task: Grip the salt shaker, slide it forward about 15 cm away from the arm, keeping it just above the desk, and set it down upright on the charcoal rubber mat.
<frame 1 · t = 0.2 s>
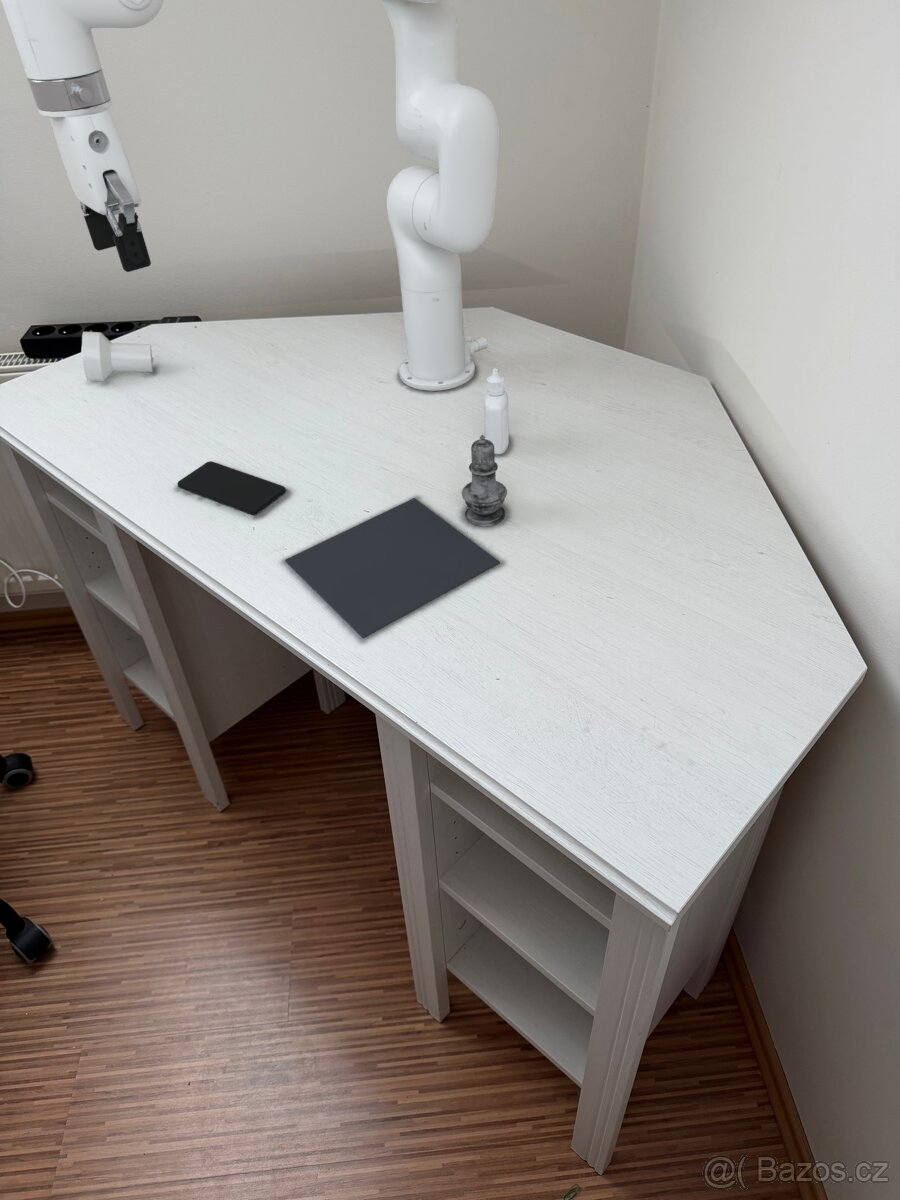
hand: (122, 257, 100), 31 cm above the table, tool pointing down, fingers open, 9 cm apart
smartphone: (232, 490, 117), on the table
spotlight: (120, 376, 146), on the table
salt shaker: (485, 515, 110), on the table
mat: (391, 562, 103), on the table
eye dropper bottle: (496, 446, 122), on the table
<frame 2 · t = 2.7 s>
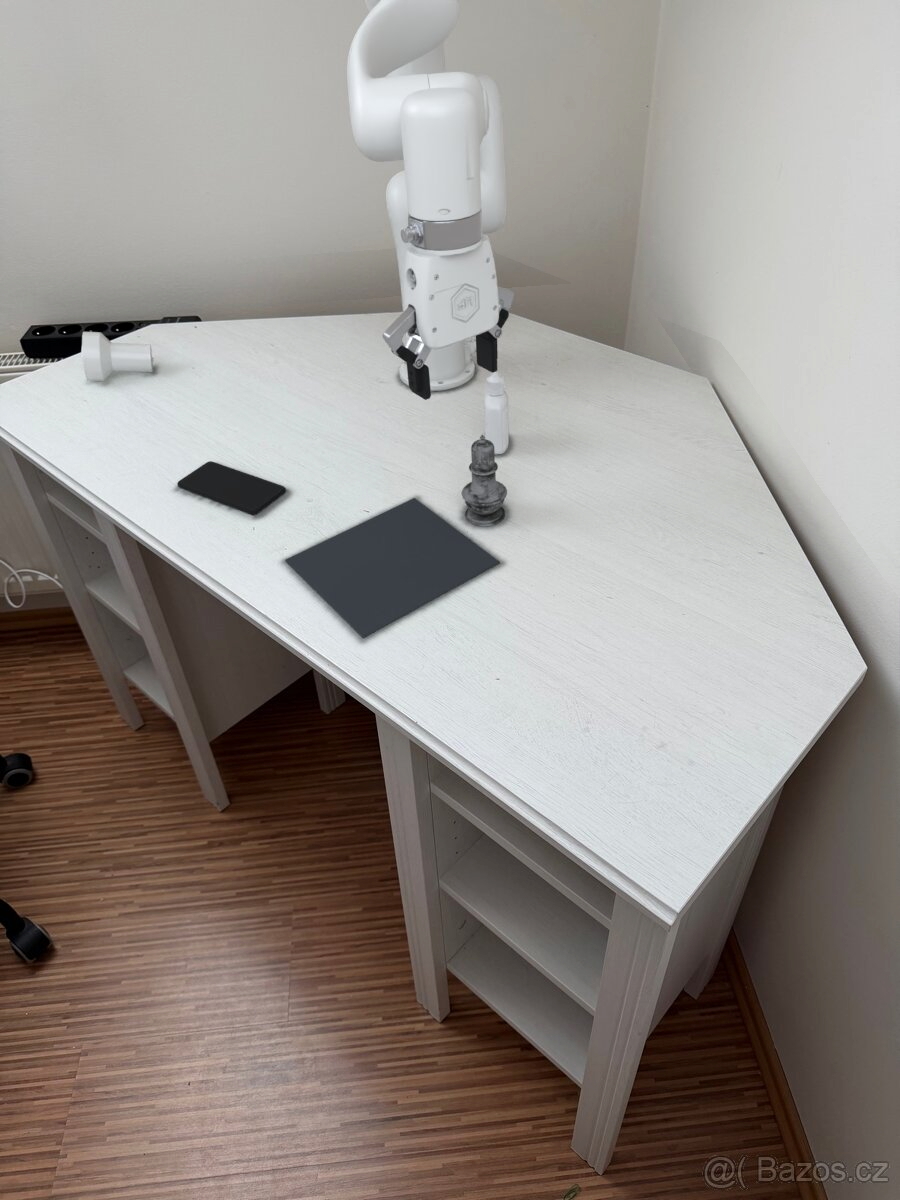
hand: (454, 381, 97), 19 cm above the table, tool pointing down, fingers open, 9 cm apart
nothing on the table moved.
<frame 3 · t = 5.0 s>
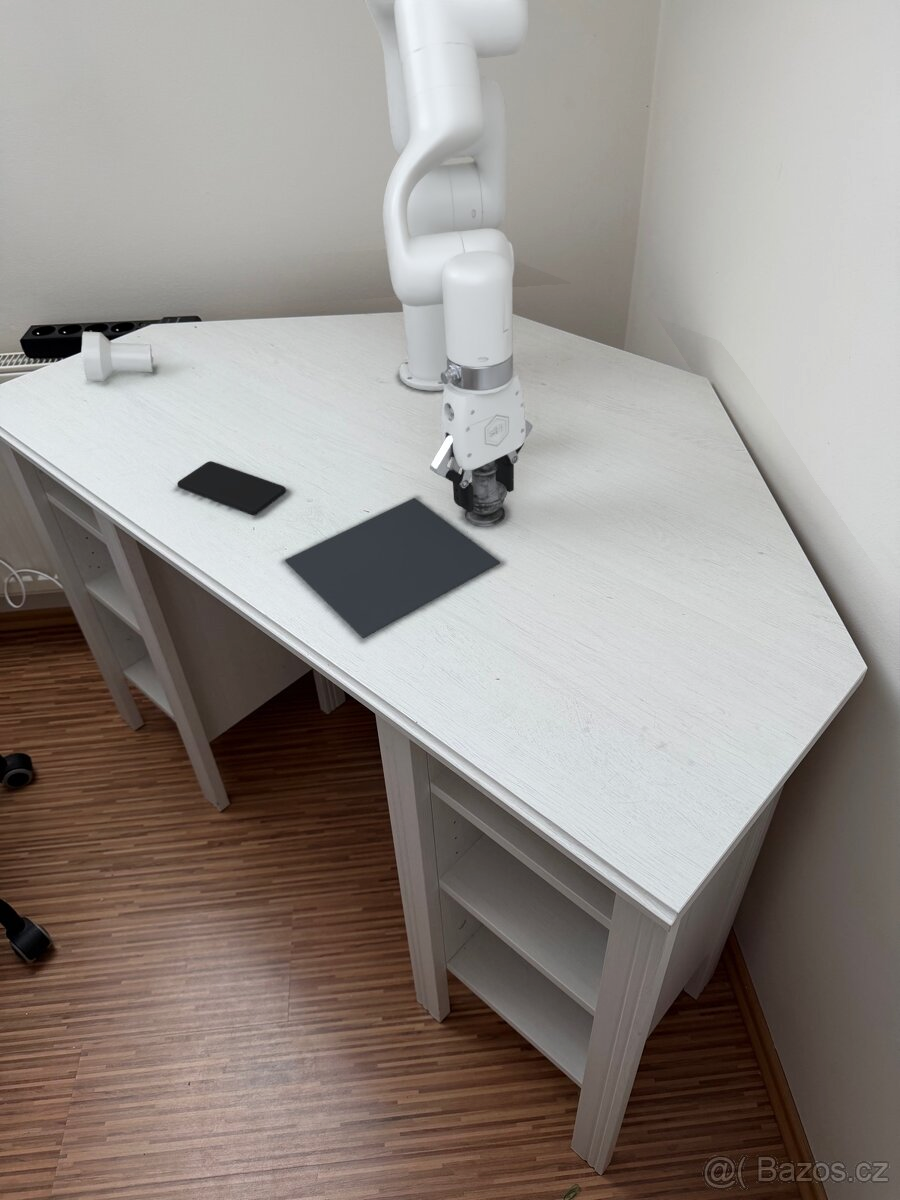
hand: (484, 495, 107), 3 cm above the table, tool pointing down, fingers closed on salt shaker, 5 cm apart
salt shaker: (485, 515, 110), on the table, touching gripper
everything else where it was.
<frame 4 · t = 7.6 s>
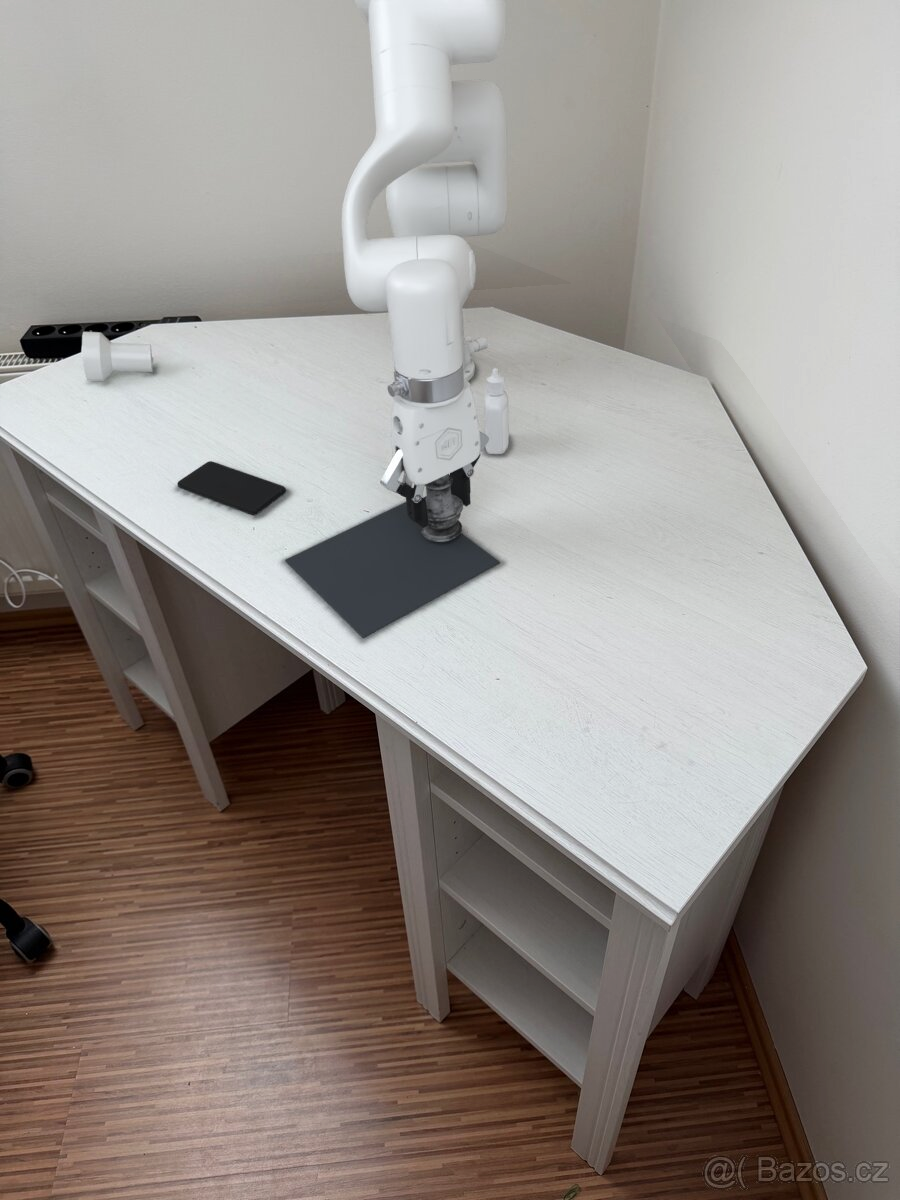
hand: (440, 510, 104), 4 cm above the table, tool pointing down, fingers closed on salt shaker, 5 cm apart
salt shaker: (441, 530, 106), point 1 cm above the table, touching gripper
everything else where it was.
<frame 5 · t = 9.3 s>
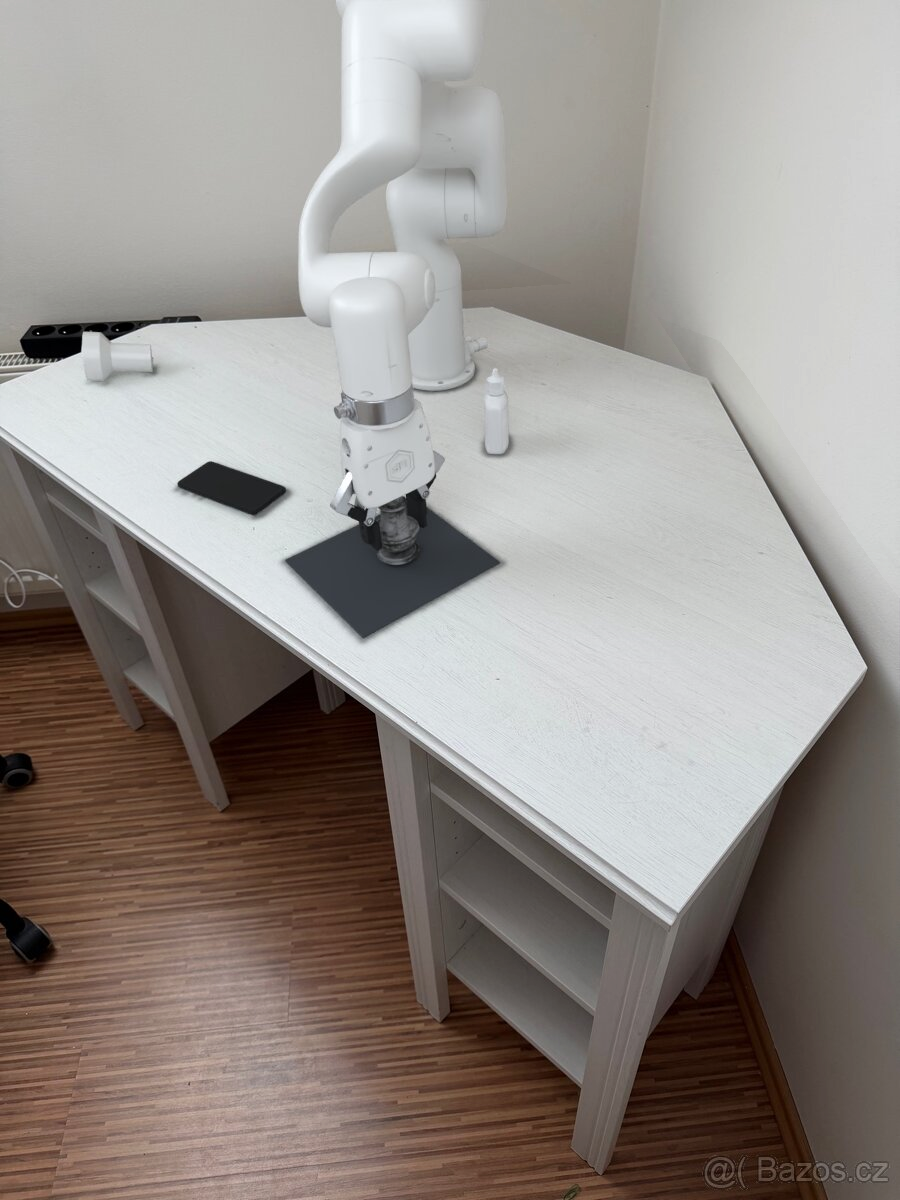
hand: (395, 532, 101), 4 cm above the table, tool pointing down, fingers closed on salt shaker, 5 cm apart
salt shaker: (398, 552, 103), point 1 cm above the table, touching gripper
everything else where it was.
when the fingers open (3 cm above the table, at t = 10.3 s): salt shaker stays where it is, resting on mat.
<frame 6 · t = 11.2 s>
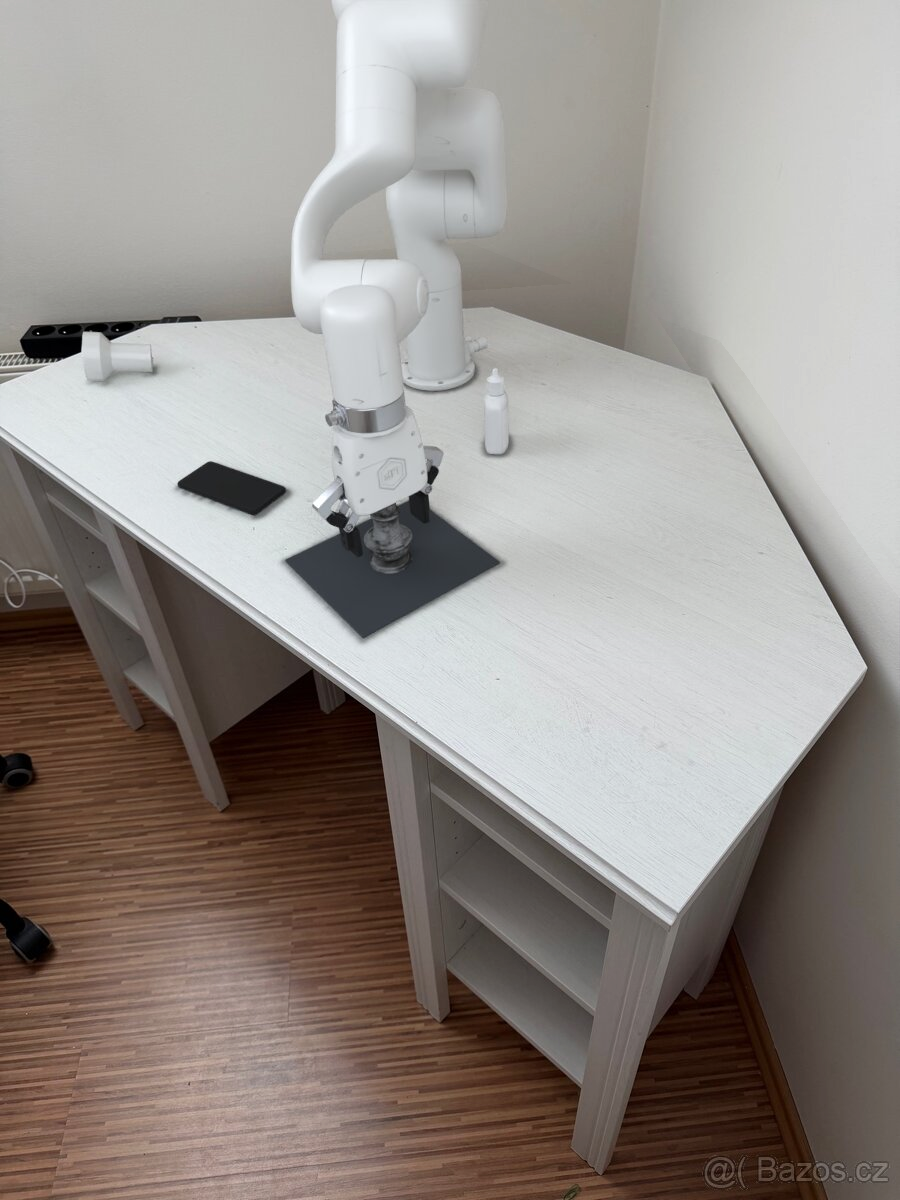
hand: (387, 534, 100), 4 cm above the table, tool pointing down, fingers open, 9 cm apart
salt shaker: (391, 561, 103), resting on mat
everything else where it was.
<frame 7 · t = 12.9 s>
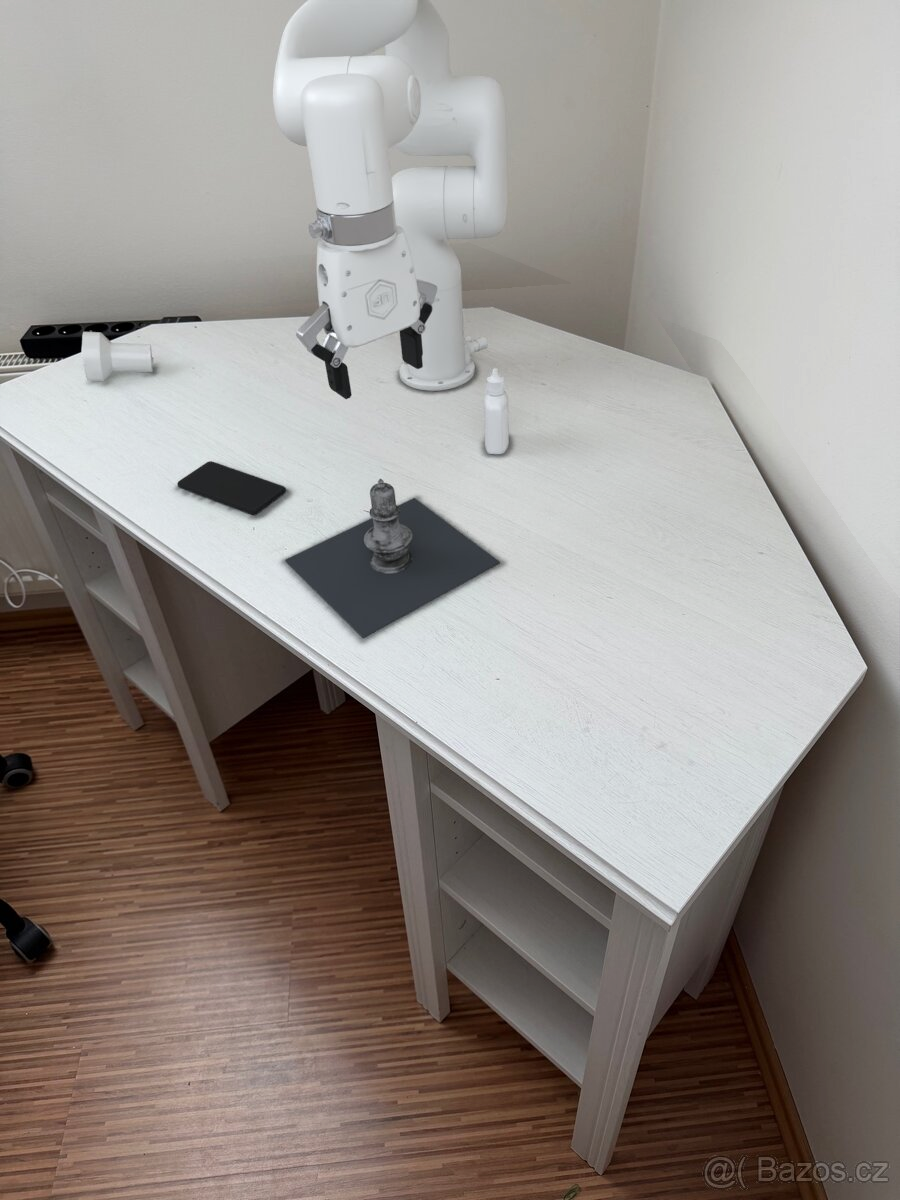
hand: (378, 378, 94), 21 cm above the table, tool pointing down, fingers open, 9 cm apart
nothing on the table moved.
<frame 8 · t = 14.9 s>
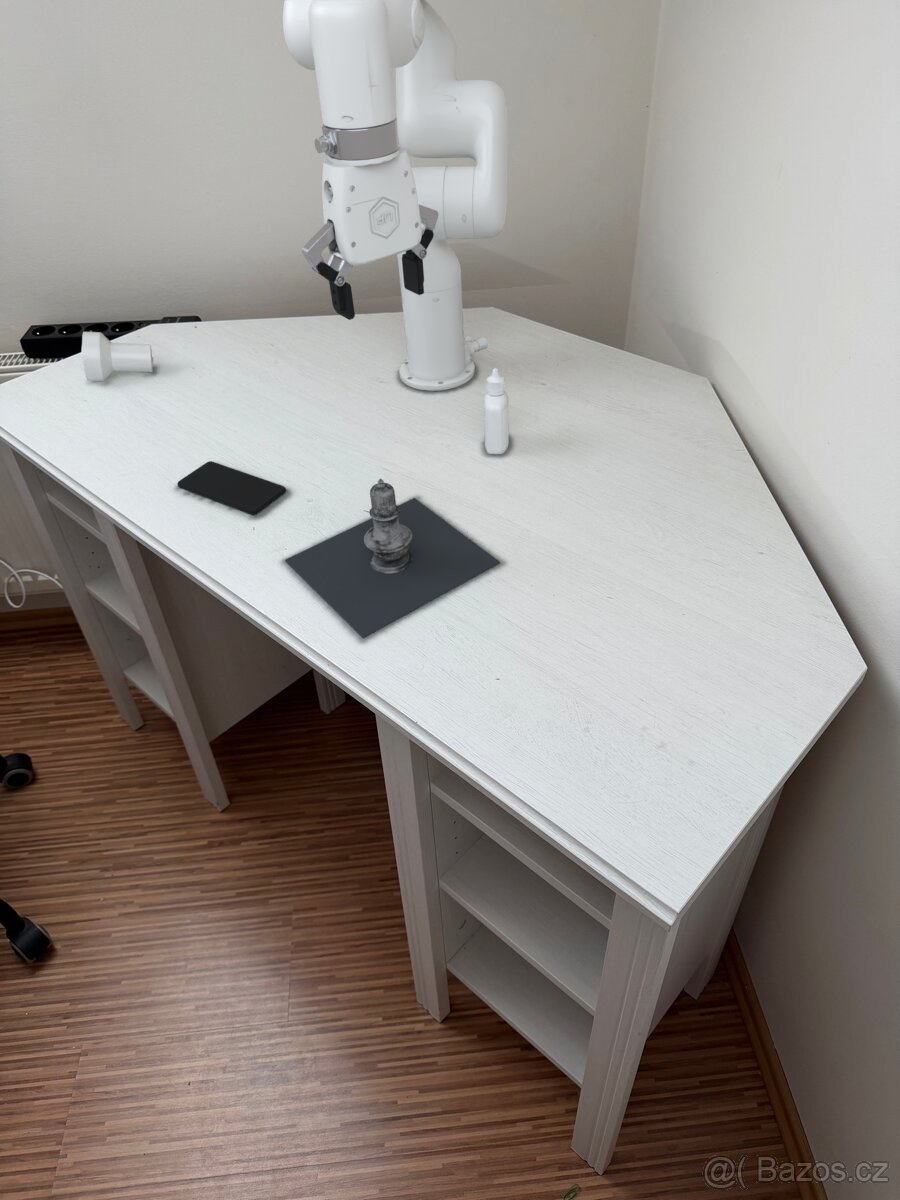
hand: (380, 303, 97), 26 cm above the table, tool pointing down, fingers open, 9 cm apart
nothing on the table moved.
at the end: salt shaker inside the target area on the mat (0.1 cm from its centre), point 0.1 cm above the mat's base; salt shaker tilted 0°; the gripper is holding nothing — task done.
